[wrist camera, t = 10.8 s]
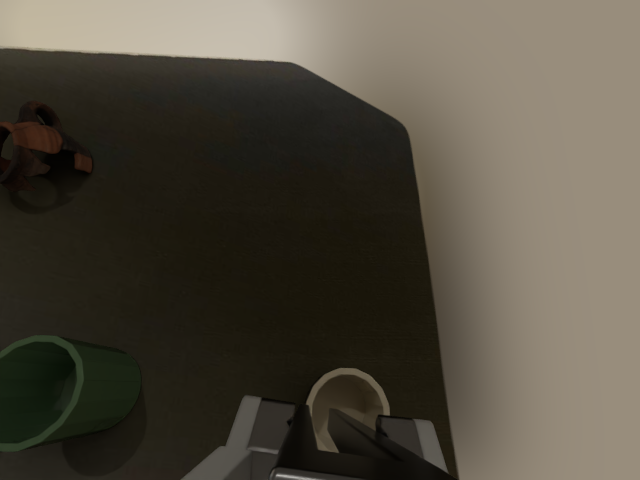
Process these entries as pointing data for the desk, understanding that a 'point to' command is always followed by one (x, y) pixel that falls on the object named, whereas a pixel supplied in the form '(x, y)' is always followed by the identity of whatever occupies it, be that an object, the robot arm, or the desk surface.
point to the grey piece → (347, 453)
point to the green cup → (62, 390)
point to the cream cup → (344, 401)
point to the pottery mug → (36, 146)
